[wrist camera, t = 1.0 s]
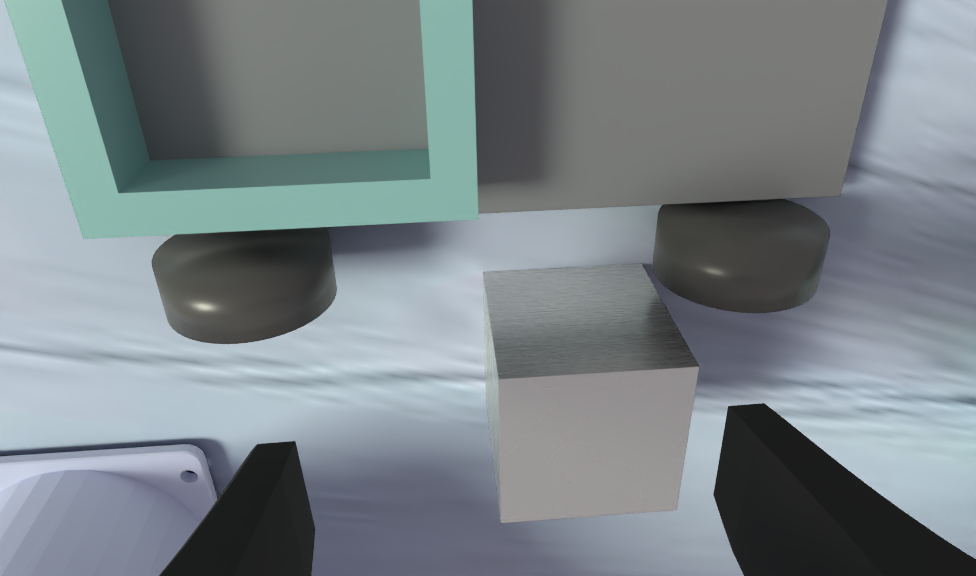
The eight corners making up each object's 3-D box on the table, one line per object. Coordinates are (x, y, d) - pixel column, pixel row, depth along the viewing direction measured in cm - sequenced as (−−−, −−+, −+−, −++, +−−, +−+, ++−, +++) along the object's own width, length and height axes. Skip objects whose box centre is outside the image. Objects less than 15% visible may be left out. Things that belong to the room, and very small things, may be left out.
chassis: (810, 231, 20) (890, 305, 17) (154, 266, 19) (95, 351, 16) (950, -386, 14) (1128, -475, 10) (-30, -385, 13) (-202, -485, 9)
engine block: (628, 388, 23) (676, 510, 18) (485, 398, 22) (500, 522, 18) (640, 262, 20) (699, 366, 16) (482, 270, 20) (498, 378, 16)
